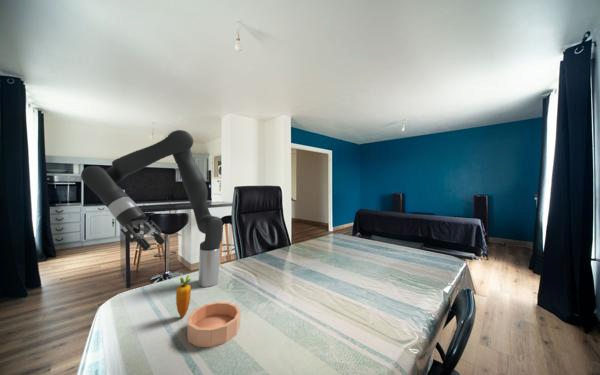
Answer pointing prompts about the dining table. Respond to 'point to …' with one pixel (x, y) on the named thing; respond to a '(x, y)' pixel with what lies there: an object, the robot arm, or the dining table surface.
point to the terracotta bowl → (213, 324)
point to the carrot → (183, 296)
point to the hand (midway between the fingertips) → (156, 245)
